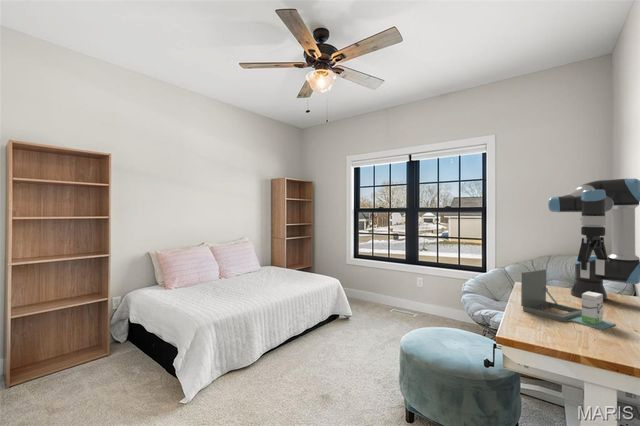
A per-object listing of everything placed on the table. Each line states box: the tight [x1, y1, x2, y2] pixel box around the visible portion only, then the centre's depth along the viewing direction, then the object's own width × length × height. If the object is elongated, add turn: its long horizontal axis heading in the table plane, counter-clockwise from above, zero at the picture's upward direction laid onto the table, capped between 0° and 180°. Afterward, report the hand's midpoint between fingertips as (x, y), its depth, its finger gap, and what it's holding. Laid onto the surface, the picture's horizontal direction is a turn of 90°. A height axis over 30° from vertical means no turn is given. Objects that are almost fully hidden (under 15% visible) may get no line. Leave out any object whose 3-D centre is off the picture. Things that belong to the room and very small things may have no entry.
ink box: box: [581, 291, 604, 325], centre depth 126 cm, size 9×5×12 cm, turn 123°
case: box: [520, 268, 582, 323], centre depth 138 cm, size 20×17×18 cm
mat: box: [568, 316, 616, 331], centre depth 126 cm, size 12×11×1 cm
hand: (592, 276), depth 126 cm, fingers open, 13 cm apart
